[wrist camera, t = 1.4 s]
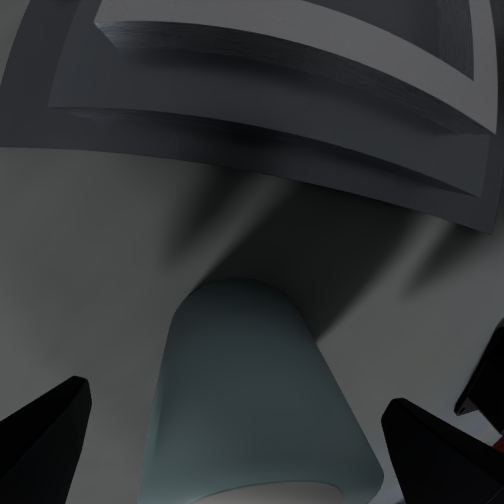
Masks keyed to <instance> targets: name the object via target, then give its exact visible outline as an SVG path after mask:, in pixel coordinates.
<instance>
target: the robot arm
mask: <svg viewBox="0 0 504 504" xmlns="http://www.w3.org/2000/svg"><path fill="white" fill-rule="evenodd" d="M91 406H92V399H91V393H90V387H89V382H88V380H87V379H86V378H82V377H79V376H72V377H70V378H69V379H67V380H66V381H64V382H62V383H61V384H59V385H58V386H56V387H54V388H53V389H51V390H50V391H48V392H47V393H45V394H43V395H42V396H40V397H39V398H37V399H35V400H34V401H32V402H31V403H29V404H27V405H26V406H24V407H23V408H21V409H19V410H18V411H16V412H15V413H13V414H11V415H10V416H8V417H7V418H5V419H3V420H2V421H0V504H65V503H66V499H67V496H68V492H69V489H70V486H71V482H72V479H73V476H74V473H75V470H76V467H77V464H78V461H79V458H80V454H81V451H82V447H83V442H84V437H85V433H86V428H87V424H88V419H89V415H90V411H91ZM475 410H479V411H480V412H481V413H482V414H483V416H484V417H485V418H486V419H487V420H488V421H489V422H490V423H491V424H492V426H493V427H494V428H495V429H496V430H497V431H498V432H499V434H501V435H502V436H503V437H504V327H500V328H499V329H498V330H497V331H496V333H495V335H494V337H493V339H492V341H491V343H490V346H489V348H488V350H487V352H486V354H485V356H484V358H483V360H482V362H481V364H480V366H479V367H478V369H477V371H476V373H475V375H474V377H473V379H472V380H471V382H470V384H469V386H468V387H467V389H466V391H465V392H464V394H463V396H462V397H461V399H460V401H459V402H458V404H457V405H456V407H455V409H454V412H455V414H456V415H457V416H460V415H463V414H466V413H469V412H472V411H475ZM381 424H382V428H383V432H384V436H385V440H386V444H387V448H388V452H389V455H390V459H391V462H392V465H393V468H394V471H395V473H396V476H397V479H398V482H399V485H400V488H401V490H402V493H403V496H404V499H405V502H406V504H504V453H503V452H501V451H499V450H497V449H495V448H493V447H491V446H489V445H487V444H485V443H483V442H481V441H480V440H478V439H476V438H474V437H472V436H470V435H468V434H467V433H465V432H463V431H461V430H459V429H457V428H456V427H454V426H452V425H450V424H448V423H447V422H445V421H443V420H441V419H440V418H438V417H436V416H434V415H433V414H431V413H429V412H427V411H426V410H424V409H422V408H420V407H419V406H417V405H415V404H414V403H412V402H410V401H408V400H407V399H405V398H396V399H393V400H391V401H390V403H389V405H388V407H387V408H386V410H385V412H384V414H383V415H382V418H381Z"/></svg>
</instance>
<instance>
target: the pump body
mask: <svg viewBox="0 0 504 504" xmlns="http://www.w3.org/2000/svg"><path fill="white" fill-rule="evenodd" d="M383 479H384V473H383V469H382V467H381V466H380V464H379V462H378V460H377V458H376V456H375V454H374V452H373V450H372V448H371V446H370V444H369V442H368V441H367V439H366V437H365V435H364V433H363V431H362V429H361V427H360V425H359V423H358V421H357V420H356V418H355V416H354V414H353V412H352V410H351V408H350V406H349V404H348V403H347V401H346V399H345V397H344V395H343V393H342V391H341V389H340V387H339V386H338V384H337V382H336V380H335V378H334V376H333V374H332V372H331V371H330V369H329V367H328V365H327V363H326V361H325V359H324V358H323V356H322V354H321V352H320V350H319V348H318V346H317V344H316V343H315V341H314V339H313V337H312V335H311V333H310V332H309V330H308V328H307V326H306V324H305V322H304V320H303V319H302V317H301V315H300V313H299V311H298V310H297V308H296V306H295V305H294V303H293V302H292V301H291V300H290V299H289V297H287V296H286V295H285V294H284V293H283V292H281V291H280V290H278V289H277V288H275V287H273V286H271V285H269V284H267V283H264V282H261V281H257V280H252V279H243V278H234V279H225V280H220V281H216V282H213V283H210V284H208V285H205V286H203V287H201V288H199V289H198V290H196V291H194V292H193V293H192V294H191V295H189V296H188V297H187V298H186V299H185V300H184V301H183V302H182V303H181V305H180V306H179V307H178V309H177V310H176V312H175V314H174V316H173V318H172V321H171V325H170V328H169V333H168V337H167V341H166V345H165V350H164V354H163V358H162V363H161V367H160V372H159V376H158V381H157V386H156V390H155V395H154V400H153V405H152V410H151V415H150V421H149V426H148V431H147V437H146V442H145V448H144V454H143V460H142V466H141V473H140V479H139V486H138V493H137V500H136V504H368V503H369V502H370V501H371V500H372V499H373V498H374V497H375V495H376V494H377V493H378V491H379V490H380V488H381V486H382V483H383Z"/></svg>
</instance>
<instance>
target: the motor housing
mask: <svg viewBox="0 0 504 504" xmlns="http://www.w3.org/2000/svg"><path fill="white" fill-rule="evenodd" d="M0 147H29V148H57V149H76V150H90V151H103V152H115V153H125V154H135V155H144V156H153V157H161V158H169V159H177V160H184V161H191V162H198V163H205V164H211V165H217V166H224V167H230V168H235V169H241V170H247V171H252V172H258V173H263V174H268V175H273V176H278V177H283V178H288V179H293V180H298V181H302V182H307V183H312V184H316V185H320V186H325V187H329V188H333V189H338V190H342V191H346V192H350V193H354V194H358V195H362V196H366V197H369V198H373V199H377V200H381V201H384V202H388V203H392V204H395V205H399V206H402V207H406V208H409V209H413V210H416V211H419V212H423V213H426V214H429V215H432V216H436V217H439V218H442V219H445V220H448V221H451V222H454V223H457V224H460V225H463V226H466V227H469V228H472V229H475V230H478V231H480V232H483V233H486V234H489V235H492V231H493V227H494V222H495V218H496V213H497V208H498V203H499V198H500V193H501V187H502V180H503V174H504V26H503V19H502V14H501V8H500V3H499V0H30V2H29V5H28V7H27V9H26V12H25V14H24V16H23V19H22V21H21V24H20V26H19V29H18V31H17V34H16V37H15V40H14V42H13V45H12V48H11V51H10V54H9V58H8V61H7V64H6V68H5V71H4V75H3V78H2V82H1V86H0Z"/></svg>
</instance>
